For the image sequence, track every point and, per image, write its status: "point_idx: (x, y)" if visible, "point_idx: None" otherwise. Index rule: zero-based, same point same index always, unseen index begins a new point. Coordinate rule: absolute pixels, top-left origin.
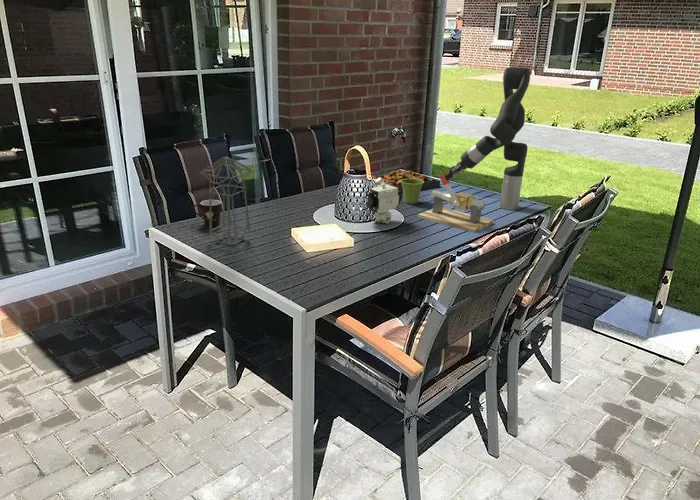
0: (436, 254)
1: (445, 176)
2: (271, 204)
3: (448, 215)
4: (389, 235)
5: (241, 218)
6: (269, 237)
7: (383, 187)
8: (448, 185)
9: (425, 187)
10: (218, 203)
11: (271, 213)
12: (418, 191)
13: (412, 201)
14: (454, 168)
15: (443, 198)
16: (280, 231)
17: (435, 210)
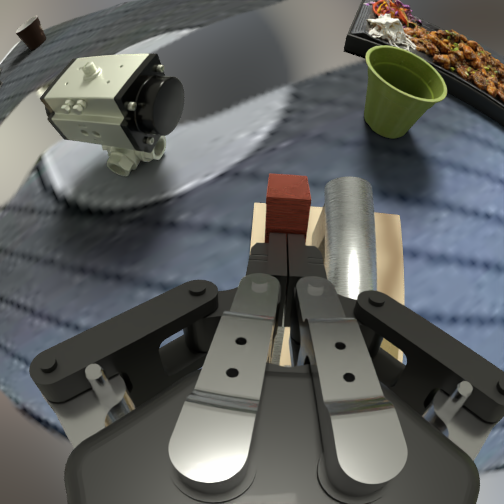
0: (10, 398)
1: (269, 236)
2: (145, 4)
3: None
4: (49, 235)
5: (66, 35)
6: (2, 106)
7: (85, 75)
8: None
9: (497, 117)
10: (35, 23)
11: (100, 29)
12: (401, 114)
13: (374, 125)
14: (49, 404)
15: (325, 260)
16: (24, 93)
17: (314, 244)
